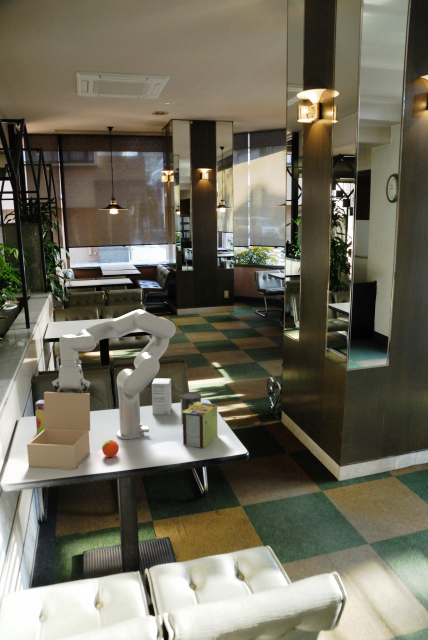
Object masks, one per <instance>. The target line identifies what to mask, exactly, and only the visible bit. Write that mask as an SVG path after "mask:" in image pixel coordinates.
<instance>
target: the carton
mask: <svg viewBox="0 0 428 640" xmlns="http://www.w3.org/2000/svg"><path fill="white" fill-rule="evenodd" d="M26 447H27V459H28V460H27V462H28V468H40V469H41V468H42V469H57V470H58V469H59V470H77V469H78V468H79V466H80V465H81V464H82V463H83V461H84V460H85V459H86V457H88V455H90V453H91V448H90V431H83V430H60V429H44V430H43V431H42V432H41V433H38V434H37V435H36V436H35V437H33V439H31V440H30V441H29V442H28V443H26Z"/></svg>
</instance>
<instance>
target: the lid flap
mask: <svg viewBox="0 0 428 640" xmlns="http://www.w3.org/2000/svg"><path fill="white" fill-rule="evenodd" d="M90 398H91V393H89V392H88V393H87V392H85V393H81V392H74V391H72V390H70V391H67V392H64V393H62V392H57V391H55V392H54V391H45V392H43V400H44V425H45V429H60V430H83V431H89V432H90V431H91V399H90Z"/></svg>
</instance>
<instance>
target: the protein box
mask: <svg viewBox="0 0 428 640" xmlns="http://www.w3.org/2000/svg"><path fill="white" fill-rule="evenodd" d="M217 437H218V404H214V403H208V402H203V401H201V402H196V403H195V404H194V405H192V406H191V407H189V408H188V409H187V410H185V411H184V412H183V424H182V440H183V441H182V442H183V446H188V447H189V446H190V447H195V448H198V449H199V448H200V449H204V448H206V447H207V446H208V445H209V444H210V443H211V442H213V440H215V439H216V438H217Z"/></svg>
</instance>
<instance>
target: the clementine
mask: <svg viewBox="0 0 428 640" xmlns="http://www.w3.org/2000/svg"><path fill="white" fill-rule="evenodd" d="M101 450H102V453H103V455H104V456H105V457H107V458H113V457H115V456H117V454H118V452H119V450H120V448H119V444H118V443H117V442H116V441H114V440H109V439H108V440H107V441H105V442H104V443H103V445H102V447H101Z"/></svg>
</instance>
